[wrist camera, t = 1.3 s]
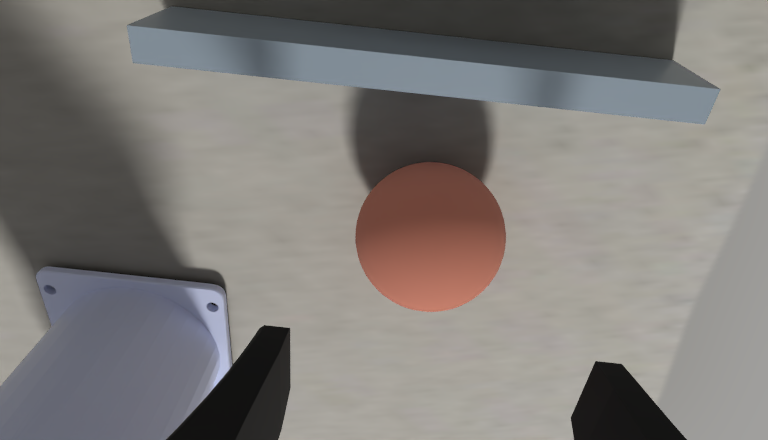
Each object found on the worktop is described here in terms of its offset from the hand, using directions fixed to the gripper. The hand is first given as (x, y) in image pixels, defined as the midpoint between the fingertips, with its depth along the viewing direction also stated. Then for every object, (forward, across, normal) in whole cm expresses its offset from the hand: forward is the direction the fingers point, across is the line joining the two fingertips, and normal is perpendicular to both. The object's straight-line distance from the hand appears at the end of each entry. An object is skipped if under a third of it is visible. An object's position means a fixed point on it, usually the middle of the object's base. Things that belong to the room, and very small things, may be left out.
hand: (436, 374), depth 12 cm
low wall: (+8, +1, -6) cm, 10 cm away
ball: (+6, 0, 0) cm, 6 cm away
